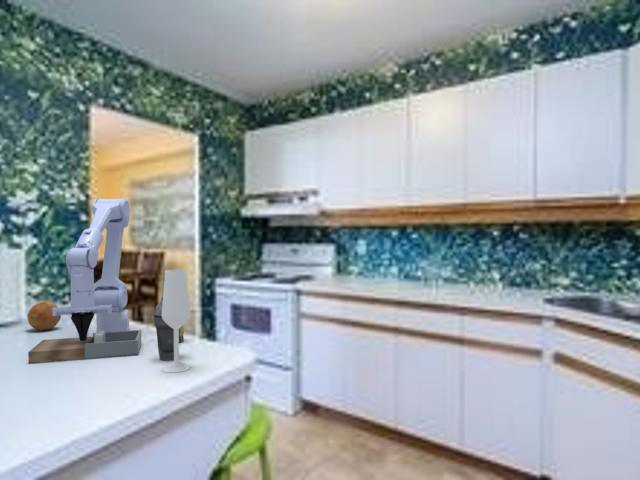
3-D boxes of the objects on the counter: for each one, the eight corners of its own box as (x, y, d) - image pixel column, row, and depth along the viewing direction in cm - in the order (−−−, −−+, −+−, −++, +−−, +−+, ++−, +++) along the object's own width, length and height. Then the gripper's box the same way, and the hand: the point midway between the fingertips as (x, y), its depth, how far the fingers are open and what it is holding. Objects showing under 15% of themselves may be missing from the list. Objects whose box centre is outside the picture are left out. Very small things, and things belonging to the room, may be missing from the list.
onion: (29, 328, 163) (28, 300, 163) (62, 326, 167) (61, 298, 167) (25, 334, 154) (24, 303, 154) (59, 331, 158) (59, 301, 158)
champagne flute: (161, 366, 117) (160, 269, 116) (189, 363, 119) (188, 268, 119) (162, 373, 111) (161, 271, 110) (192, 370, 113) (190, 270, 112)
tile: (97, 348, 133) (105, 348, 133) (94, 353, 128) (102, 352, 128) (97, 331, 133) (105, 330, 133) (94, 335, 128) (102, 334, 128)
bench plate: (93, 346, 137) (93, 336, 137) (84, 359, 123) (84, 347, 123) (43, 350, 133) (43, 339, 133) (28, 363, 120) (28, 352, 120)
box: (141, 343, 141) (141, 330, 141) (137, 355, 127) (137, 340, 127) (93, 346, 137) (93, 333, 137) (84, 359, 123) (84, 344, 123)
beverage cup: (174, 362, 120) (173, 284, 119) (148, 361, 121) (147, 284, 121) (187, 355, 127) (186, 281, 126) (163, 354, 128) (162, 280, 128)
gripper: (49, 294, 123) (50, 345, 124) (109, 291, 128) (110, 341, 128) (55, 290, 130) (56, 339, 130) (112, 288, 134) (113, 335, 135)
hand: (83, 340), depth 130 cm, fingers closed
